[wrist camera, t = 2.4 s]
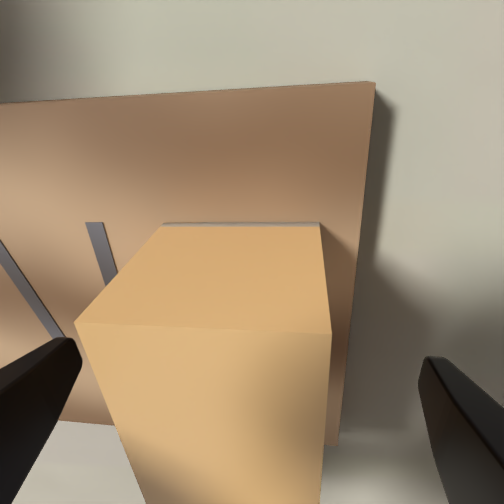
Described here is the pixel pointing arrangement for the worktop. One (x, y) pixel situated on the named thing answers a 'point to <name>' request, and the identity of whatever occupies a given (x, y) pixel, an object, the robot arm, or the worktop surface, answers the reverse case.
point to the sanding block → (218, 362)
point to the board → (170, 199)
